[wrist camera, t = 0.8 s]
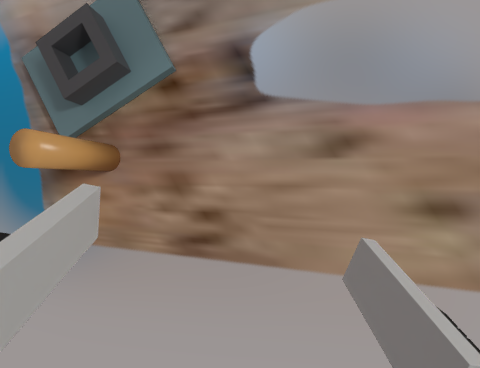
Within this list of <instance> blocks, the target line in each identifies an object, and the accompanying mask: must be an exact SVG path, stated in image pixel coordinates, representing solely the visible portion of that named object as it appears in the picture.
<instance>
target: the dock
mask: <svg viewBox="0 0 480 368" xmlns="http://www.w3.org/2000/svg"><path fill="white" fill-rule="evenodd" d="M36 44H37V47H35V48H34V49H33V50H31V51H30V52H29V53H27V54H26V55H25V56H23V57H22V60H23V62H24V64H25V66H26V68H27V70H28V72H29V74H30V76H31V78H32V80H33V82H34V84H35V86H36V88H37V90H38V93H39V95H40V97H41V99H42V101H43V103H44V105H45V107H46V109H47V111H48V113H49V115H50V117H51V119H52V121H53V123H54V125H55V127H56V129H57V131H58V133H59V135H63V136H68V137H73V138H76V137H77V136H79V135H80V134H82V133H83V132H85V131H86V130H88V129H89V128H91V127H92V126H94V125H95V124H97V123H98V122H100V121H101V120H103V119H104V118H106V117H107V116H109V115H110V114H112V113H113V112H115V111H116V110H118V109H119V108H121V107H122V106H124V105H125V104H127V103H128V102H130V101H131V100H133V99H134V98H136V97H137V96H139V95H140V94H142V93H143V92H145V91H146V90H148V89H149V88H151V87H152V86H154V85H155V84H157V83H158V82H160V81H161V80H163V79H164V78H166V77H167V76H169V75H170V74H172V73H173V72H175V71H176V69H175V67H174V66H173V64H172V62H171V60H170V58H169V56H168V54H167V53H166V51H165V49H164V47H163V45H162V43H161V42H160V40H159V38H158V36H157V34H156V32H155V30H154V29H153V27H152V25H151V23H150V21H149V19H148V17H147V16H146V14H145V12H144V10H143V8H142V6H141V4H140V3H139V1H138V0H96V1H95V2H94V3H93V4H91V5H90V6H89V5H88V4H87V3H86V4H85V5H83V6H82V7H81V8H79V9H78V10H77V11H76V12H74V13H73V14H72V15H70V16H69V17H68V18H66V19H65V20H64V21H63V22H61V23H60V24H59V25H57V26H56V27H55V28H53V29H52V30H51V31H50V32H48V33H47V34H46V35H44V36H43V37H42V38H41V39H39V40H38V41H37V42H36Z"/></svg>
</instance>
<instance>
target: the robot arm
mask: <svg viewBox="0 0 480 368" xmlns="http://www.w3.org/2000/svg"><path fill="white" fill-rule="evenodd" d="M100 189H101V187H98V186H93V185H88V184H82V185H81V186H79V187H78V188H76V189H75V190H73V191H72V192H71V193H69V194H68V195H66V196H65V197H63V198H62V199H61V200H59V201H58V202H56V203H55V204H53V205H52V206H51V207H49V208H48V209H46V210H45V211H44V212H42V213H41V214H39V215H38V216H37V217H35V218H34V219H32V220H31V221H29V222H28V223H26V224H25V225H23V226H22V227H21V228H19V229H18V230H16V231H15V232H14V233H12V234H7V233H0V353H1V352H2V350H3V349H4V348H5V347H6V346H7V344H8V343H9V342H10V341H11V340H12V339H13V337H14V336H15V335H16V334H17V332H18V331H19V330H20V329H21V328H22V327H23V325H24V324H25V323H26V322H27V321H28V320H29V318H30V317H31V316H32V315H33V313H34V312H35V311H36V310H37V309H38V308H39V306H40V305H41V304H42V303H43V302H44V300H45V299H46V298H47V297H48V296H49V295H50V293H51V292H52V291H53V290H54V289H55V287H56V286H57V285H58V284H59V283H60V281H61V280H62V279H63V278H64V277H65V276H66V274H67V273H68V272H69V271H70V270H71V268H72V267H73V266H74V265H75V263H77V261H78V260H79V259H80V258H81V256H82V255H83V254H84V253H85V252H86V251H87V249H88V248H89V247H90V246H91V245H92V244H93V242H94V241H95V240H96V239H97V238H98V224H99V207H100ZM342 280H343V282H344V283H345V285H346V287H347V288H348V290H349V292H350V294H351V295H352V297H353V299H354V301H355V302H356V304H357V306H358V308H359V309H360V311H361V313H362V315H363V316H364V318H365V320H366V322H367V323H368V325H369V327H370V329H371V330H372V332H373V334H374V335H375V337H376V339H377V341H378V343H379V344H380V346H381V348H382V349H383V351H384V353H385V354H386V356H387V358H388V360H389V362H390V363H391V365H392V367H393V368H480V350H479V349H478V348H477V347H476V346H475V345H474V344H473V342H472V341H471V340H470V339H468V338H467V336H466V335H465V334H464V333H463V332H462V331H461V330H460V329H458V328H457V325H456V324H455V323H454V322H453V321H452V320H451V319H450V318H449V317H448V316H447V315H446V314H445V313H444V312H443V311H441V310H440V309H439V308H438V307H436V306H435V305H434V304H433V303H432V302H431V301H430V299H429V298H428V297H427V296H426V295H425V294H424V293H423V292H422V291H421V290H420V289H419V288H418V286H417V285H416V284H415V283H414V282H413V281H412V280H411V279H410V278H409V277H408V276H407V275H406V273H405V272H404V271H403V270H402V269H401V268H400V267H399V266H398V265H397V264H396V263H395V262H394V260H393V259H392V258H391V257H390V256H389V255H388V254H387V253H386V252H385V251H384V250H383V249H382V247H381V246H380V245H379V244H378V243H377V242H376V241H375V240H371V239H366V238H361V240H360V242H359V244H358V246H357V248H356V251H355V253H354V255H353V257H352V259H351V261H350V264H349V266H348V268H347V270H346V272H345V274H344V277H343V279H342Z"/></svg>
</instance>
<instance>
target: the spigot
mask: <svg viewBox="0 0 480 368" xmlns="http://www.w3.org/2000/svg"><path fill="white" fill-rule="evenodd" d="M9 151H10V156H11V158H12V160H13V161H14V162H15V163H16V164H17V165H18V166H20V167H24V168H25V167H26V168H46V169H70V170H93V171H112V170H114V169H115V168H116V167H117V166H118V165H119V162H120V153H119V151H118V149H117V148H116V147H115V146H113V145H109V144H104V143H99V142H94V141H89V140H83V139H78V138H73V137H68V136H63V135H58V134H52V133H47V132H42V131H37V130H32V129H21V130H19V131H17V132H16V133H15V134H14V135H13V136H12V138H11V141H10V145H9Z"/></svg>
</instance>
